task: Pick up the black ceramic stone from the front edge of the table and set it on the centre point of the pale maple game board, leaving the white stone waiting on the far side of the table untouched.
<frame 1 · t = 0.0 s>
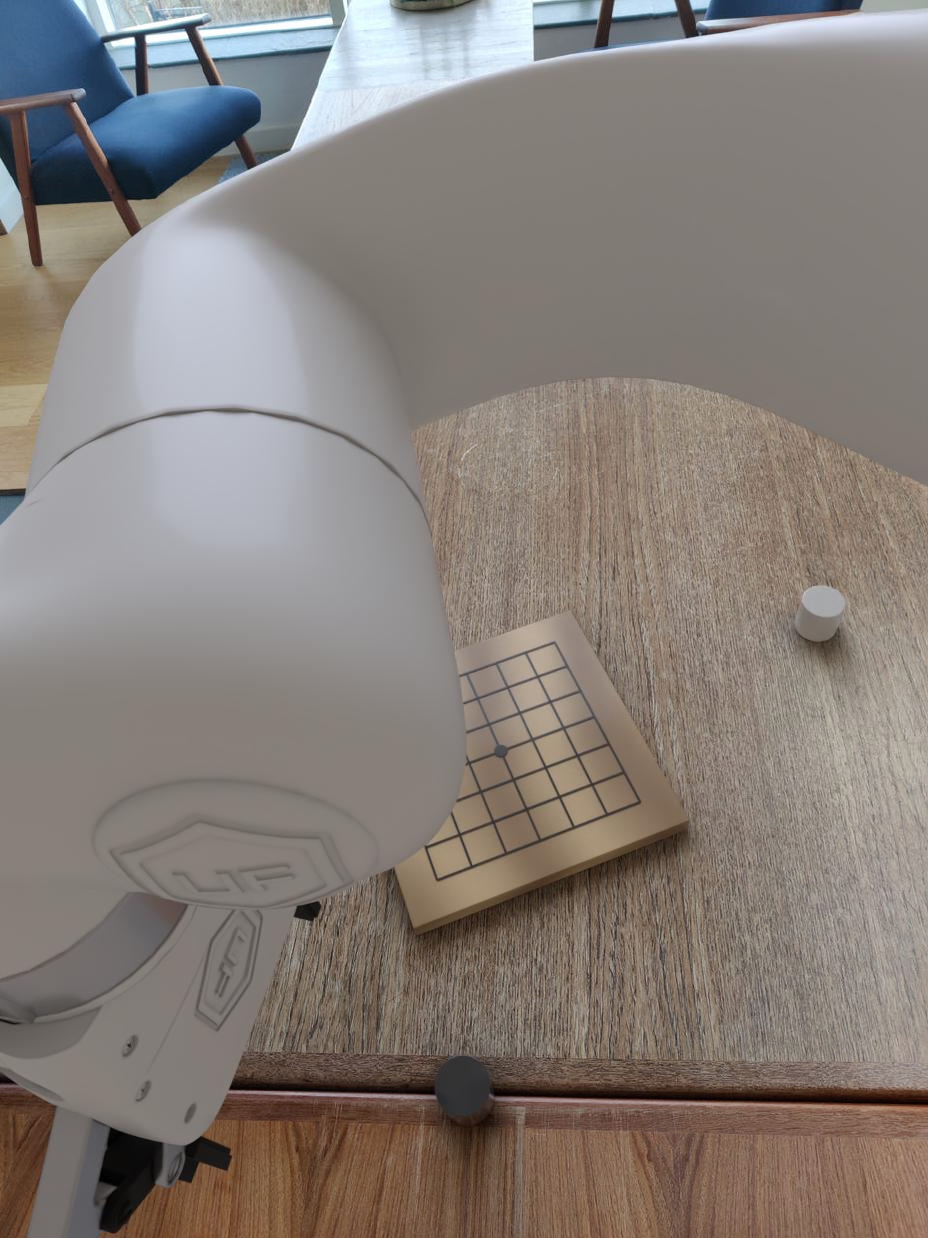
hand: (245, 1020, 37), 21 cm above the table, tool pointing down, fingers open, 9 cm apart
board: (502, 761, 66), on the table
white stone: (815, 625, 71), on the table
black stone: (467, 1095, 53), on the table
seashell: (219, 880, 63), on the table
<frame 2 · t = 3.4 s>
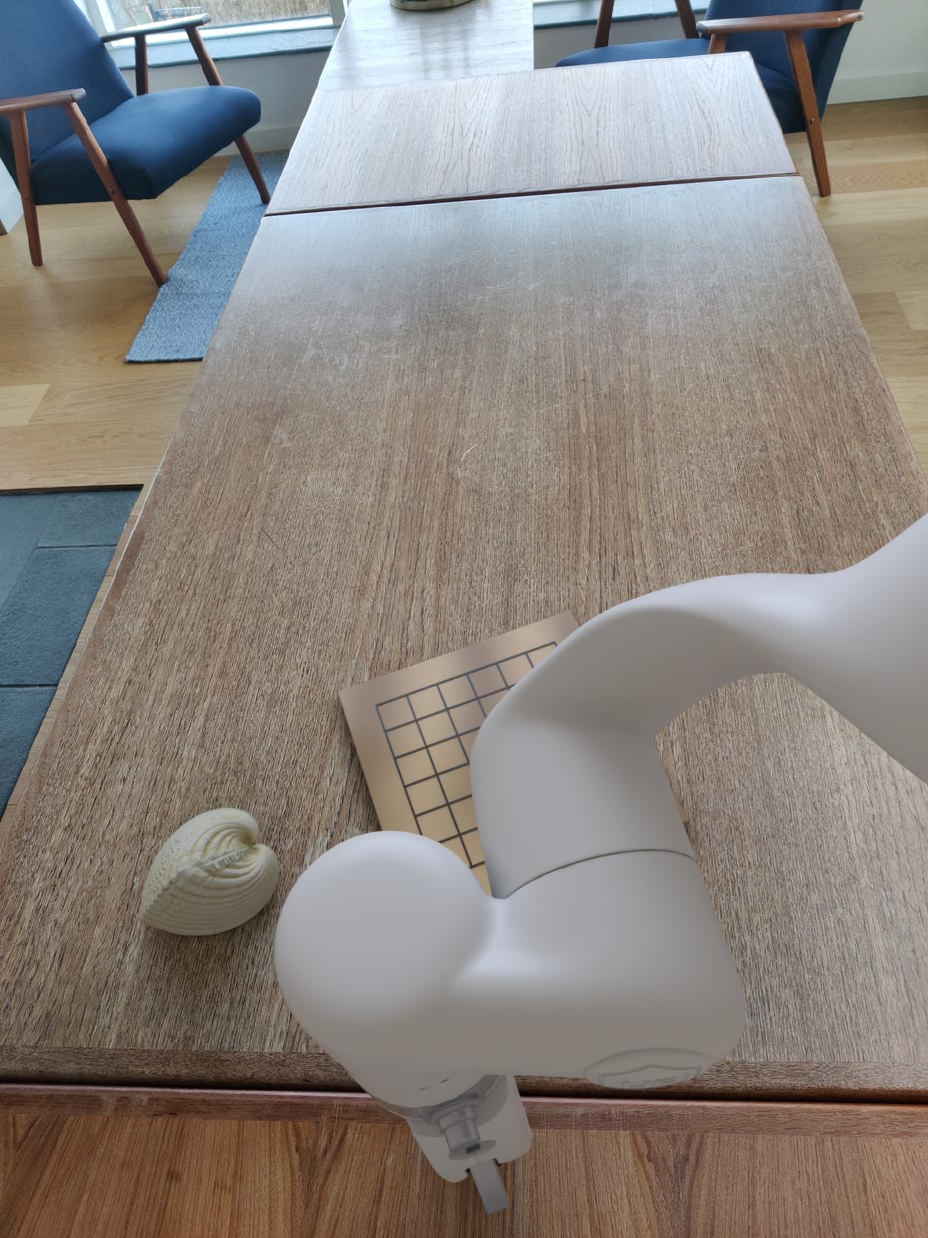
hand: (467, 1094, 53), 0 cm above the table, tool pointing down, fingers closed on black stone, 3 cm apart
black stone: (467, 1095, 53), on the table, touching gripper
everything else where it was.
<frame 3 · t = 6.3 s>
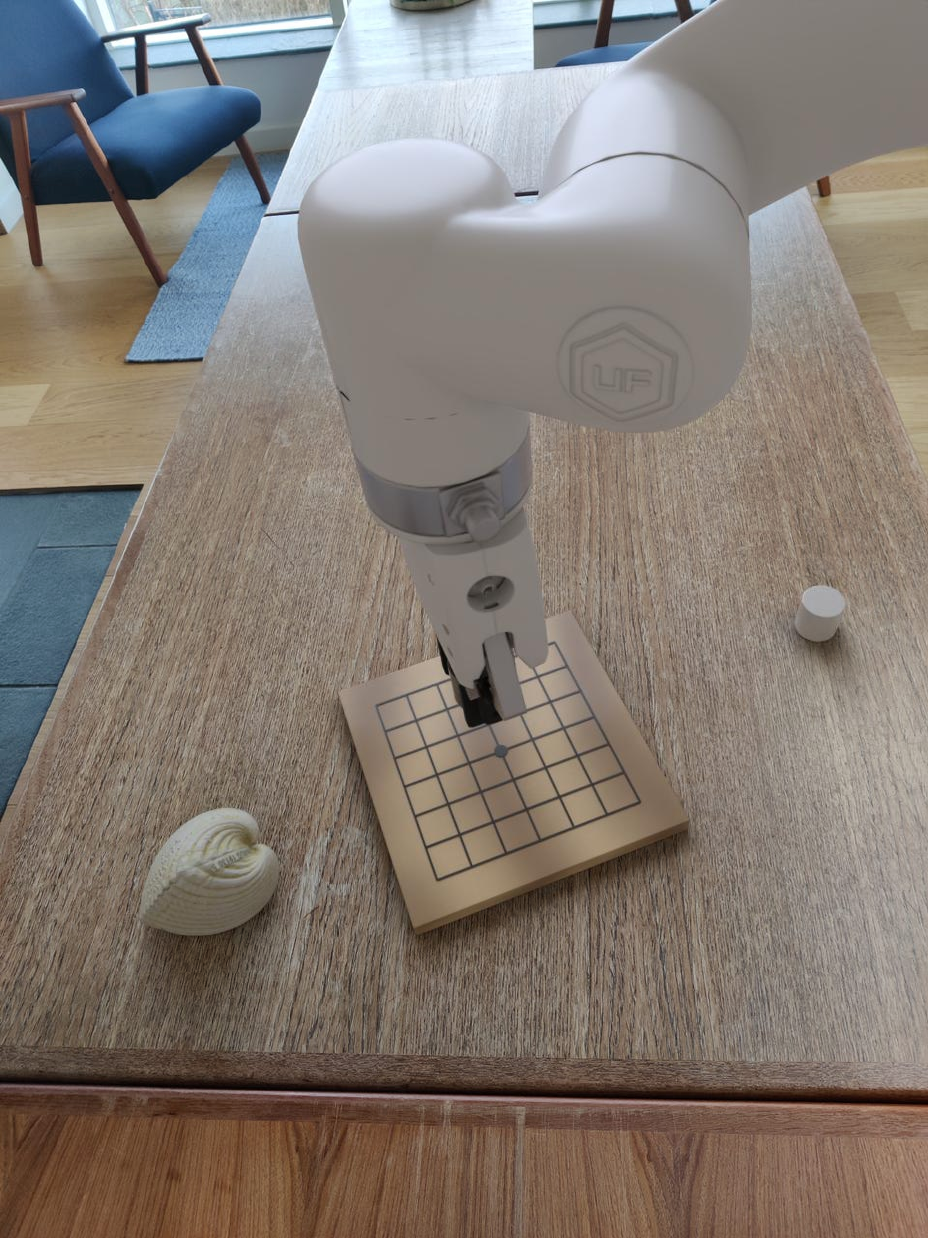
hand: (480, 688, 53), 15 cm above the table, tool pointing down, fingers closed on black stone, 3 cm apart
black stone: (480, 690, 53), point 15 cm above the table, touching gripper
everything else where it was.
when the fingers open (2 cm above the table, at t = 9.7 s): black stone stays where it is, resting on board.
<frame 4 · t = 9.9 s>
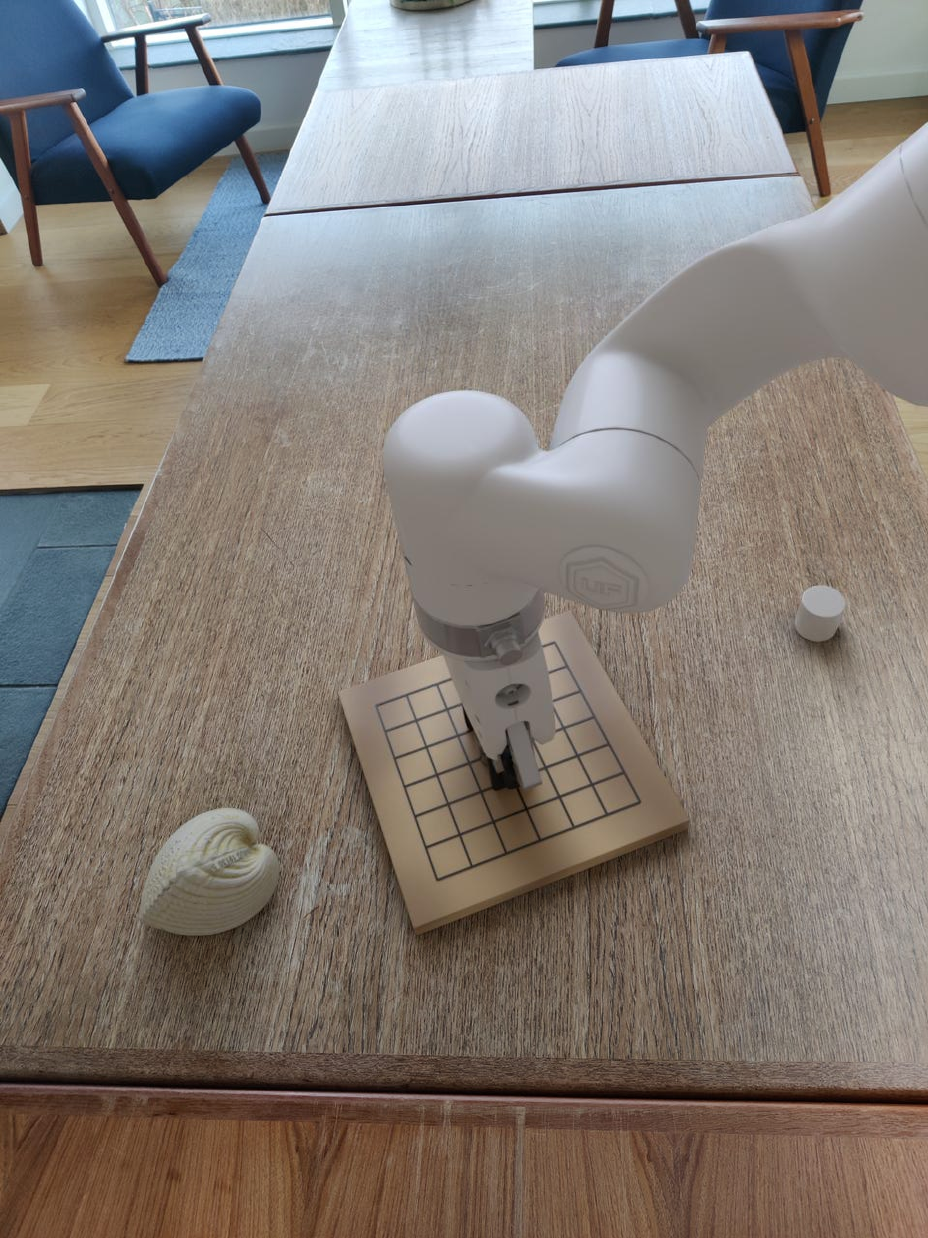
hand: (499, 748, 65), 2 cm above the table, tool pointing down, fingers open, 4 cm apart
black stone: (499, 750, 65), point 2 cm above the table, touching board
everything else where it was.
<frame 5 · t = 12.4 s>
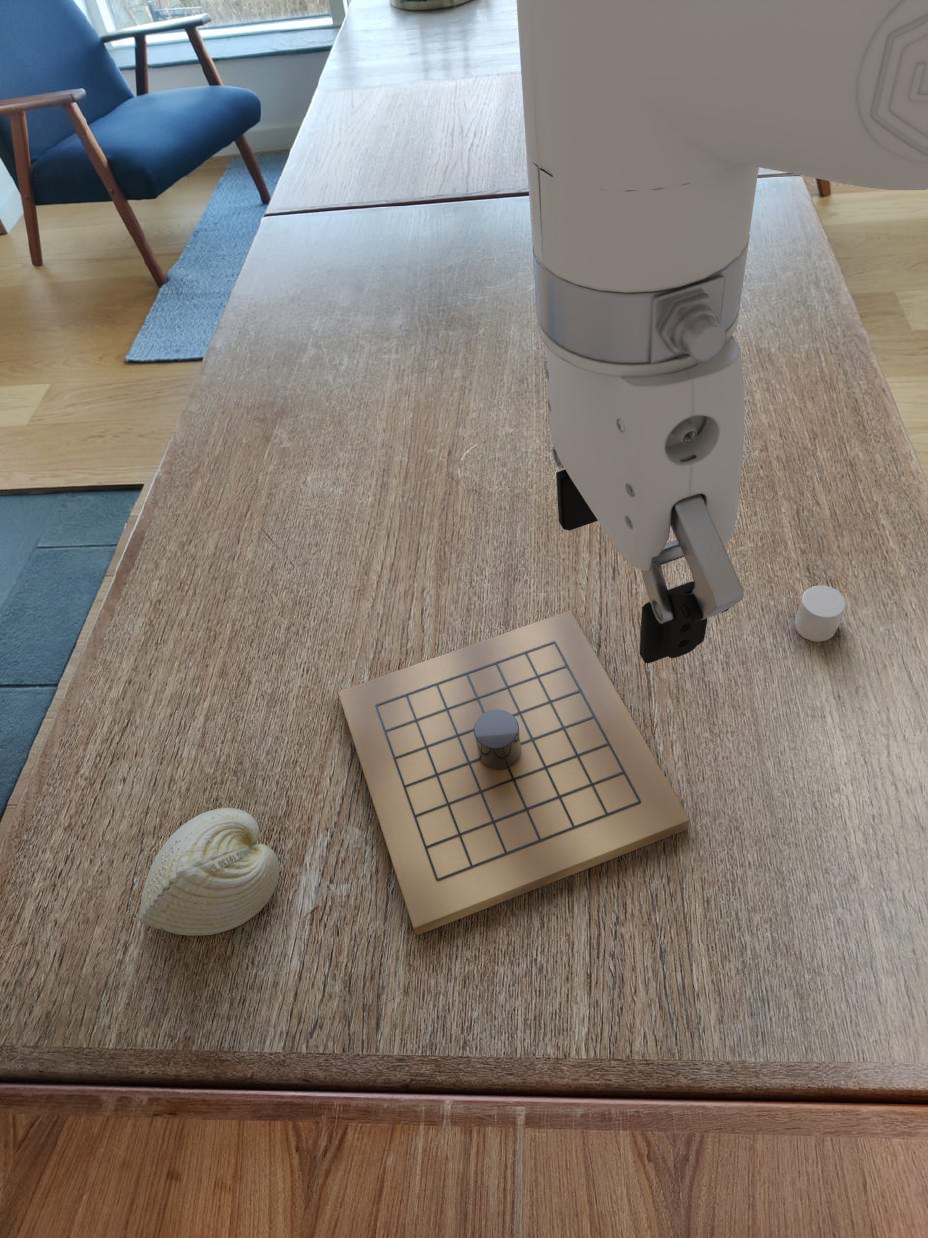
hand: (626, 580, 46), 23 cm above the table, tool pointing down, fingers open, 9 cm apart
nothing on the table moved.
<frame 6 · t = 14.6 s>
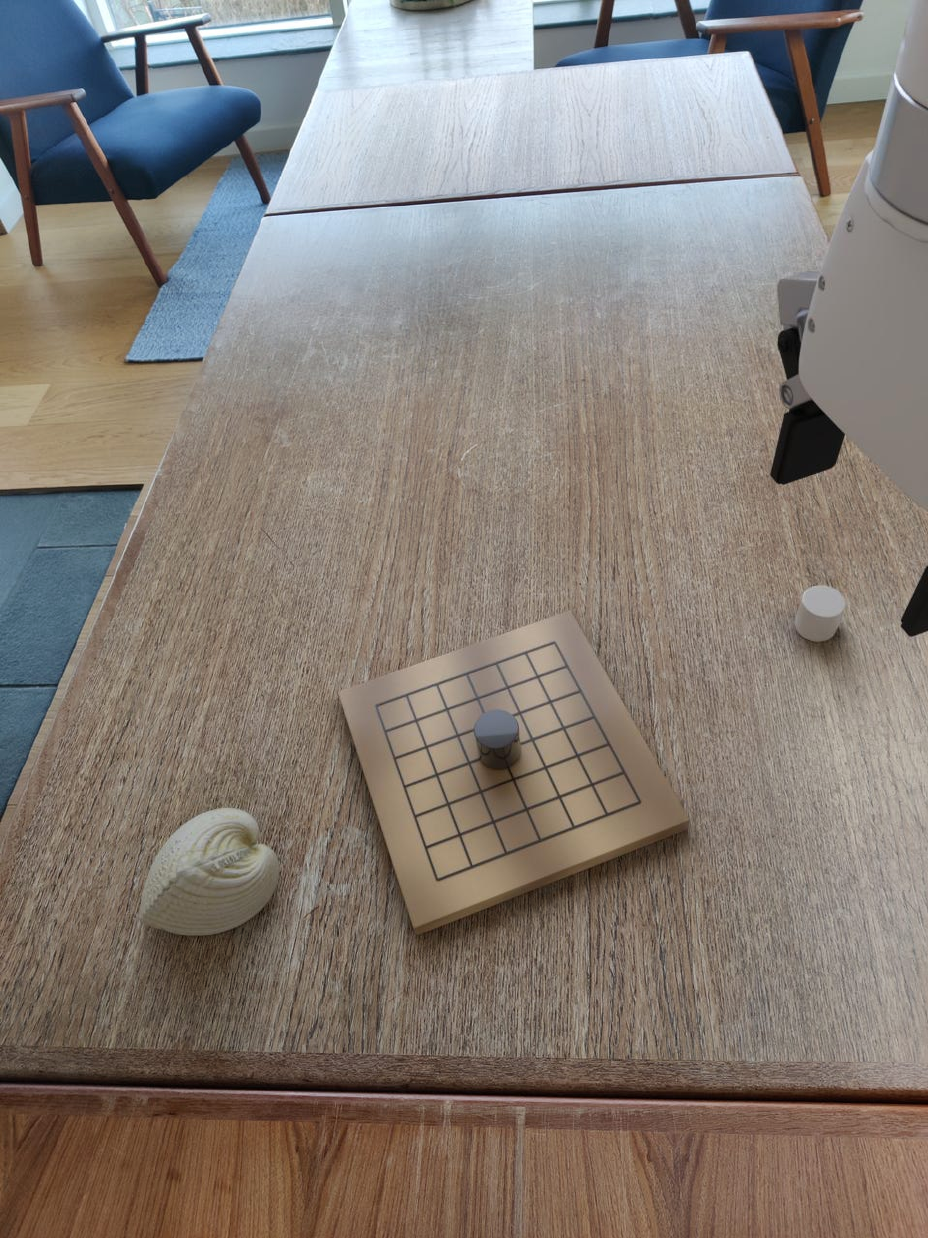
hand: (863, 541, 39), 28 cm above the table, tool pointing down, fingers open, 9 cm apart
nothing on the table moved.
at the end: black stone 0.1 cm off-centre on the board, point 1.6 cm above the board's base; black stone tilted 0°; white stone moved 0.0 cm from its start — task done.
